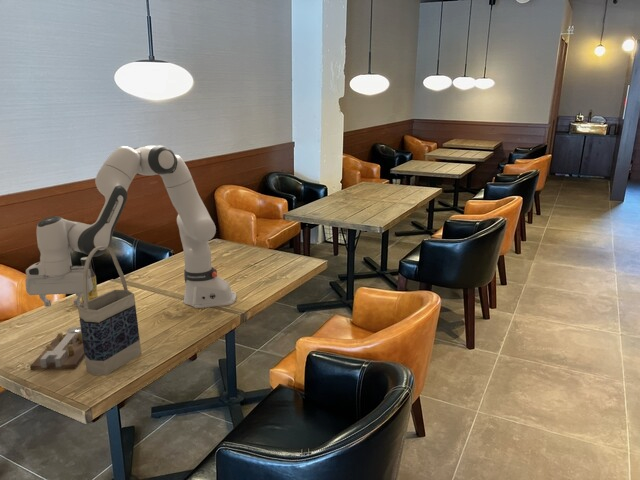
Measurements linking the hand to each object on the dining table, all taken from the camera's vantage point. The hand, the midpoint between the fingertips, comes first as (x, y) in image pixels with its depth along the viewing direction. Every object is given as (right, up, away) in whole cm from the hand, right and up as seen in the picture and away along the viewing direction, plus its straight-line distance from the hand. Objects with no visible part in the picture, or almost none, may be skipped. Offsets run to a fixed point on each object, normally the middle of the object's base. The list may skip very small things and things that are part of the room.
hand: (62, 305), depth 169 cm
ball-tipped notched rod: (0, -15, +3) cm, 16 cm away
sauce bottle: (-11, -5, +45) cm, 47 cm away
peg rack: (-1, -17, +4) cm, 17 cm away
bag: (+18, -19, -2) cm, 26 cm away
